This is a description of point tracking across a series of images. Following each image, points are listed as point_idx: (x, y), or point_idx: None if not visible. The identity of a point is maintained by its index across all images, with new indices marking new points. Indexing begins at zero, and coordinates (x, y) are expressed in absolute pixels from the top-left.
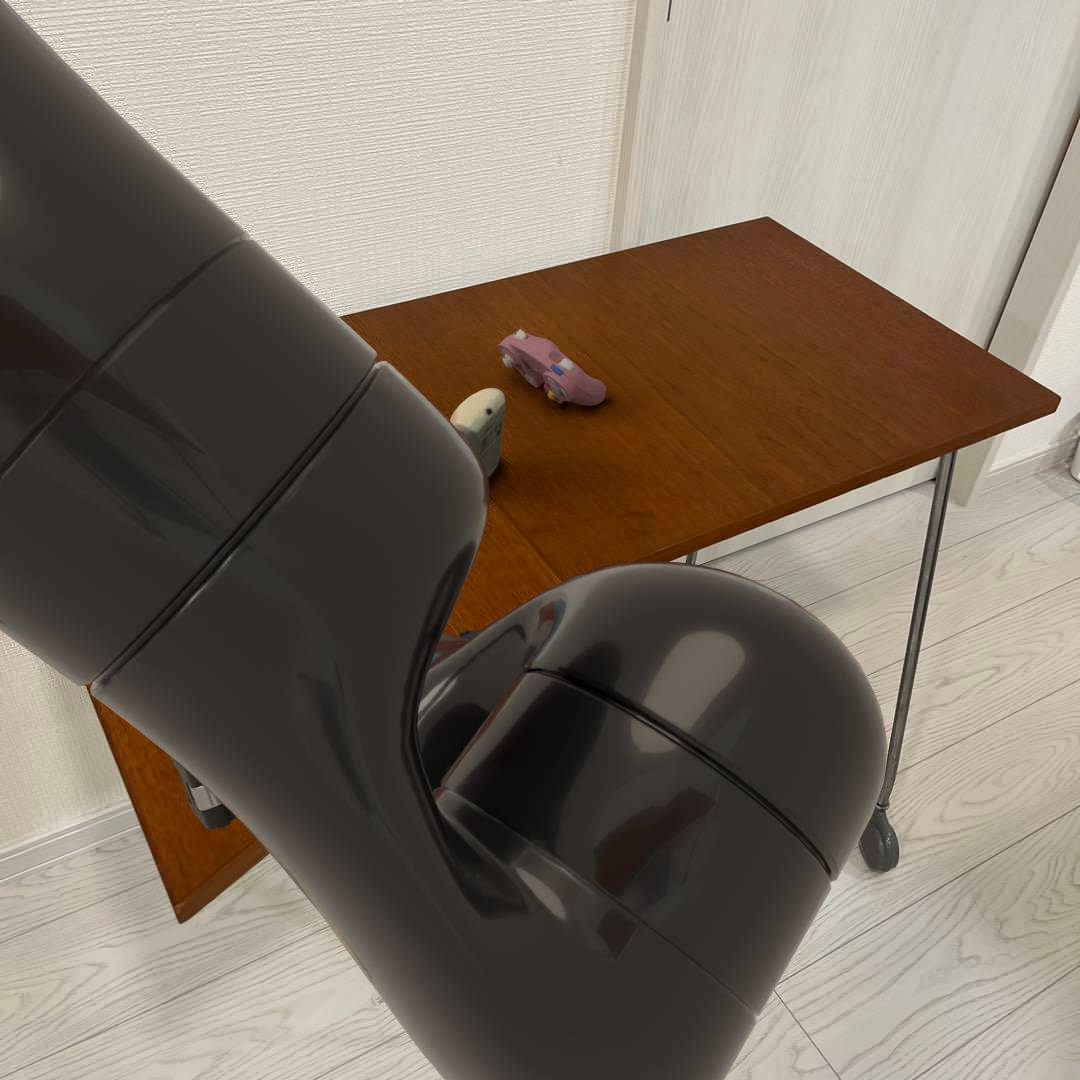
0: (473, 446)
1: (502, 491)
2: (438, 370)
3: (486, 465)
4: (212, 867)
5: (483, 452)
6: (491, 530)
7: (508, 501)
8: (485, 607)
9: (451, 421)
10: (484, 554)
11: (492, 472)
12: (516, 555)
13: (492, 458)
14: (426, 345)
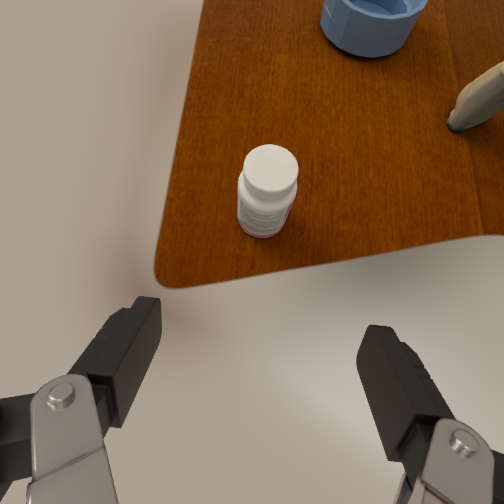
0: (500, 96)
1: (479, 140)
2: (484, 30)
3: (485, 116)
4: (172, 288)
5: (497, 105)
6: (456, 164)
7: (479, 149)
8: (421, 217)
9: (501, 65)
10: (441, 179)
11: (481, 122)
12: (462, 192)
13: (493, 113)
14: (486, 8)
